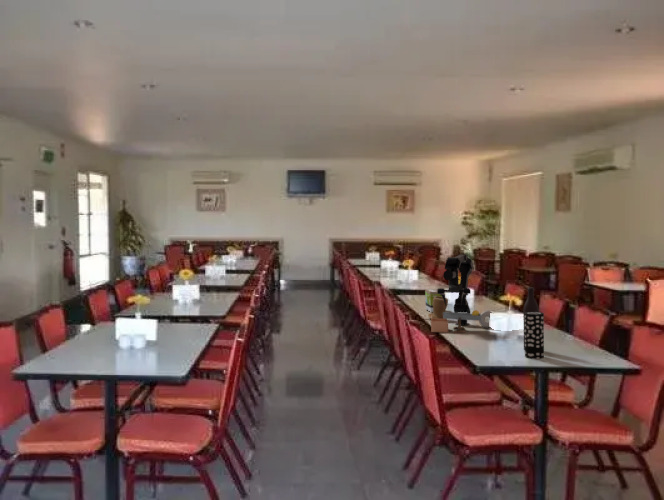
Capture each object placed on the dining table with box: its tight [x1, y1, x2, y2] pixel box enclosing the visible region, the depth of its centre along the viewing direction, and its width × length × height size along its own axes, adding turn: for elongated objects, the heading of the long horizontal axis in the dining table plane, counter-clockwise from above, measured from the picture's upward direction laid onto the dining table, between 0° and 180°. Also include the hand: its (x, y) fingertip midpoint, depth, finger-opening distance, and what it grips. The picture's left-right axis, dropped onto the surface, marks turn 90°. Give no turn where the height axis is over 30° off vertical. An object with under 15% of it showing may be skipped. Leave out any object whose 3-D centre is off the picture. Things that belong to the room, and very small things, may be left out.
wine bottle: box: [522, 287, 540, 351], centre depth 320 cm, size 7×7×30 cm
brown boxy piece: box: [430, 315, 449, 333], centre depth 384 cm, size 10×11×8 cm
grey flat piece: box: [443, 311, 481, 321], centre depth 386 cm, size 21×16×3 cm
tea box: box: [424, 288, 442, 313], centre depth 466 cm, size 15×10×15 cm
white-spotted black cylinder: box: [524, 311, 545, 360], centre depth 305 cm, size 8×8×20 cm
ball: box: [471, 309, 480, 316], centre depth 381 cm, size 4×4×4 cm
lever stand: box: [453, 318, 466, 334], centre depth 382 cm, size 6×15×8 cm, turn 172°
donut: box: [478, 310, 493, 329], centre depth 390 cm, size 10×3×10 cm, turn 99°
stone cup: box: [427, 296, 449, 320], centre depth 425 cm, size 15×12×15 cm
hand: (453, 305), depth 389 cm, fingers open, 9 cm apart
